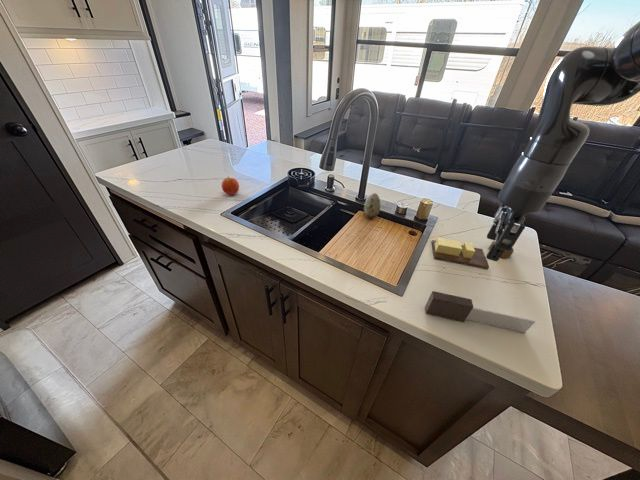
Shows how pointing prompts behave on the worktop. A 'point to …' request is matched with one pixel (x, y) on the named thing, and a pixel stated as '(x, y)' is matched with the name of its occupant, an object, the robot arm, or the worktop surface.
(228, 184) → the fruit
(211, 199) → the worktop surface
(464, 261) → the butter board
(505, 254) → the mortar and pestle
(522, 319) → the knife
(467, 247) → the butter pat
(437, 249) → the butter stick
